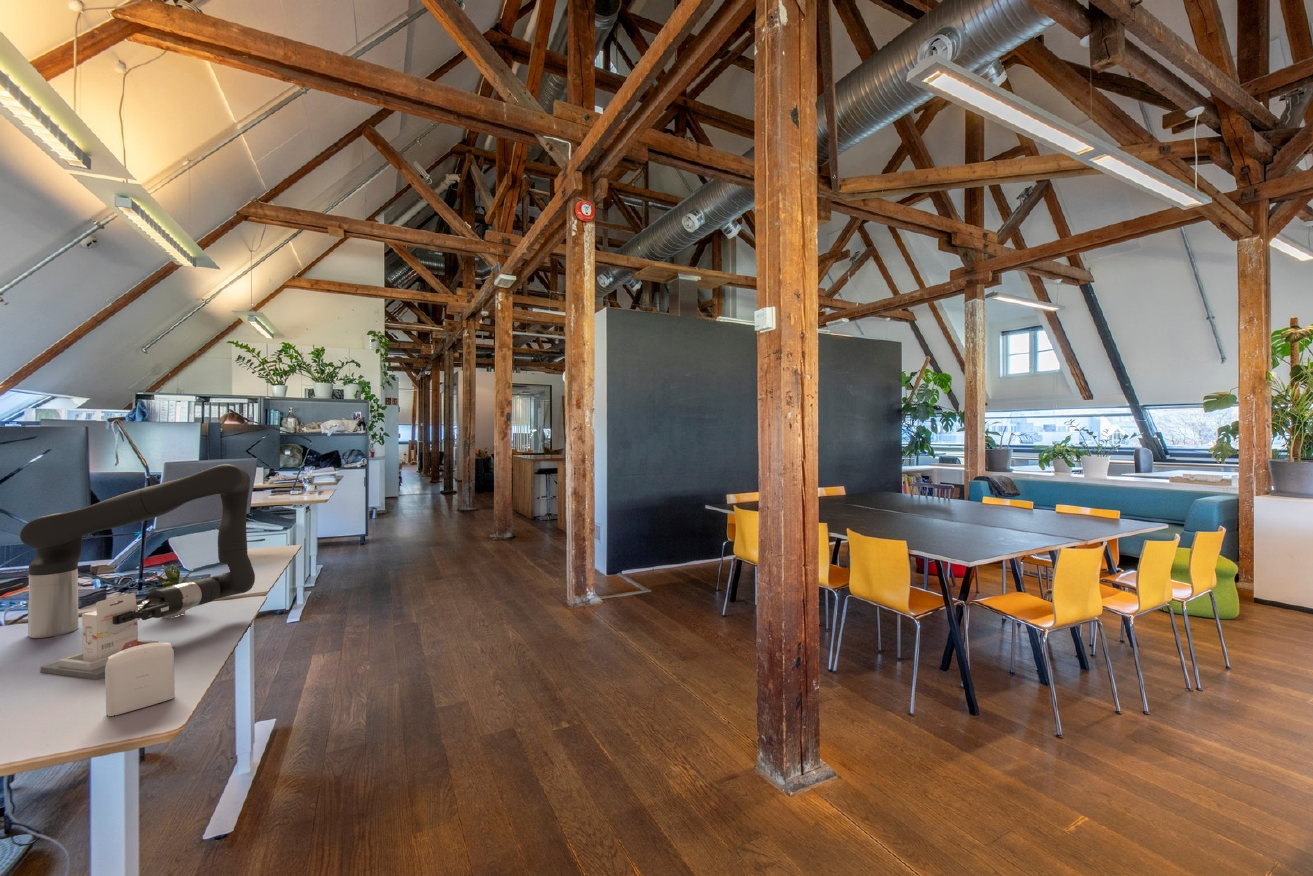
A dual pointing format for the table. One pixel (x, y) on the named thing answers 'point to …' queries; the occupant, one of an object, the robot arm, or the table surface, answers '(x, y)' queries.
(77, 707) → the table surface
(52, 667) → the refill dock
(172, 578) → the house plant
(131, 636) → the ink cartridge box
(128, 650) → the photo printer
